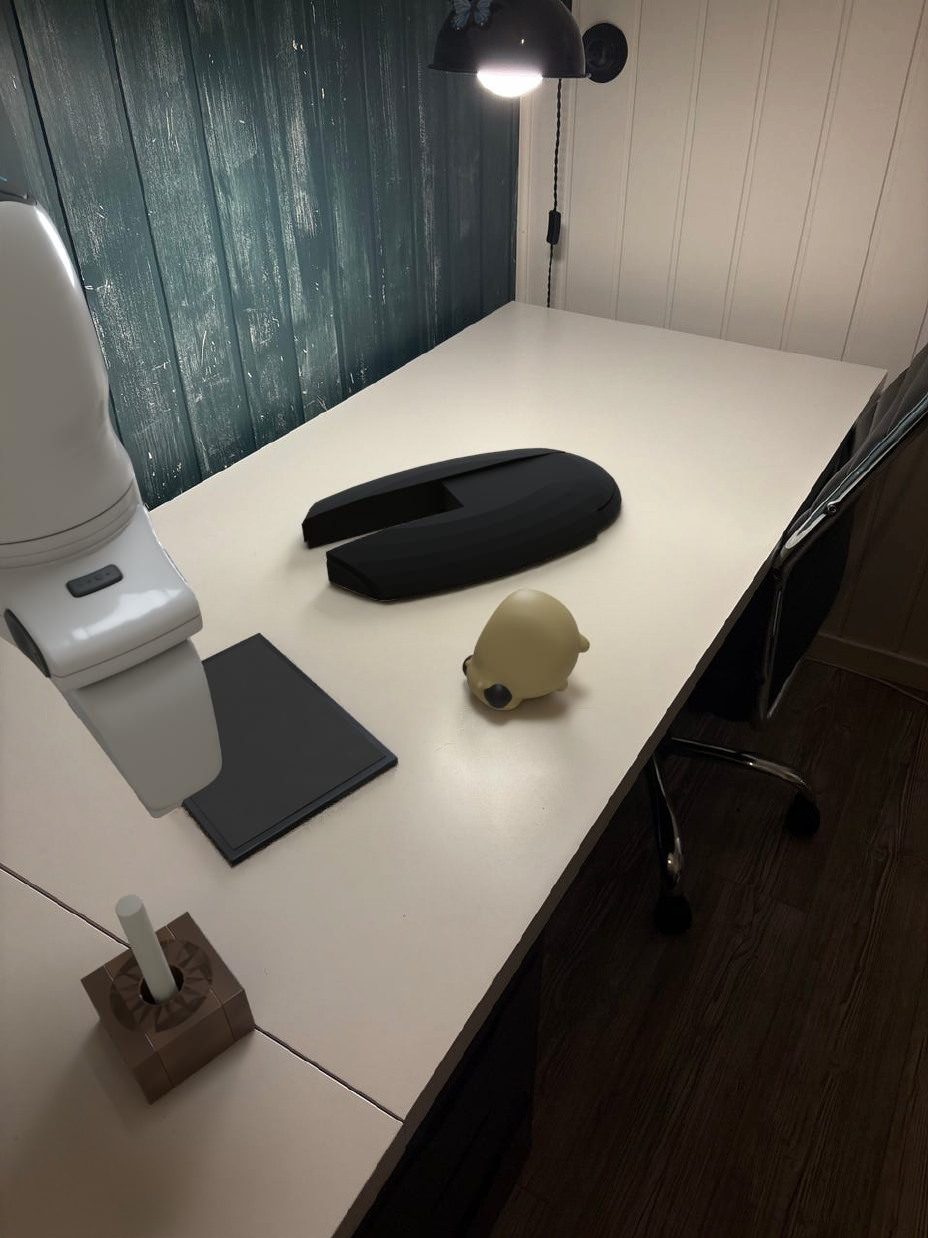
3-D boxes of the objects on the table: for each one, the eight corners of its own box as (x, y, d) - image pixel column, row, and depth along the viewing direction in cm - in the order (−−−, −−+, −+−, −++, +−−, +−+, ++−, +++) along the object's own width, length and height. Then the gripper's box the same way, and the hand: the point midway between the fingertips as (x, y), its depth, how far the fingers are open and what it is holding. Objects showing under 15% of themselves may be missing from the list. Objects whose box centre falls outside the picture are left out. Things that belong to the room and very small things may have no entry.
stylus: (172, 1038, 63) (121, 921, 55) (162, 1021, 64) (110, 904, 56) (193, 1023, 64) (146, 906, 55) (182, 1007, 65) (135, 889, 56)
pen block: (150, 1106, 60) (131, 1069, 57) (99, 1017, 65) (79, 979, 62) (256, 1027, 64) (244, 989, 61) (201, 949, 69) (187, 910, 66)
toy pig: (500, 683, 96) (426, 650, 90) (571, 596, 93) (500, 554, 87) (541, 744, 89) (463, 712, 82) (620, 651, 86) (545, 610, 79)
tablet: (232, 867, 74) (230, 860, 74) (108, 713, 89) (106, 706, 88) (398, 763, 83) (397, 756, 82) (260, 637, 97) (259, 631, 97)
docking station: (664, 528, 112) (669, 493, 109) (354, 624, 99) (349, 587, 96) (559, 444, 130) (561, 411, 127) (284, 515, 116) (279, 481, 113)
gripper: (-89, 482, 47) (1, 684, 55) (67, 688, 34) (152, 906, 43) (35, 443, 50) (101, 639, 58) (218, 618, 37) (269, 834, 46)
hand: (124, 754), depth 50 cm, fingers open, 8 cm apart
